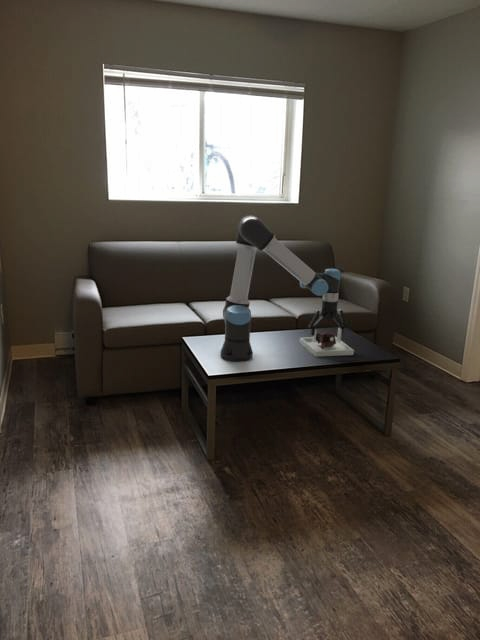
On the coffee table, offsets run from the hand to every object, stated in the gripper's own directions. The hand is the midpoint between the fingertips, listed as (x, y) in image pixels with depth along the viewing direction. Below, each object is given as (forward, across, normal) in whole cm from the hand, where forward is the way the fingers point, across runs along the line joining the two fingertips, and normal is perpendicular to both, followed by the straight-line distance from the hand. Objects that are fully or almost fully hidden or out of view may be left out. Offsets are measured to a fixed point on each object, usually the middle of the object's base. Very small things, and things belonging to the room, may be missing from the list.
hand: (326, 341), depth 258 cm
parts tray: (+4, 0, 0) cm, 4 cm away
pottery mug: (+3, 0, +1) cm, 3 cm away
